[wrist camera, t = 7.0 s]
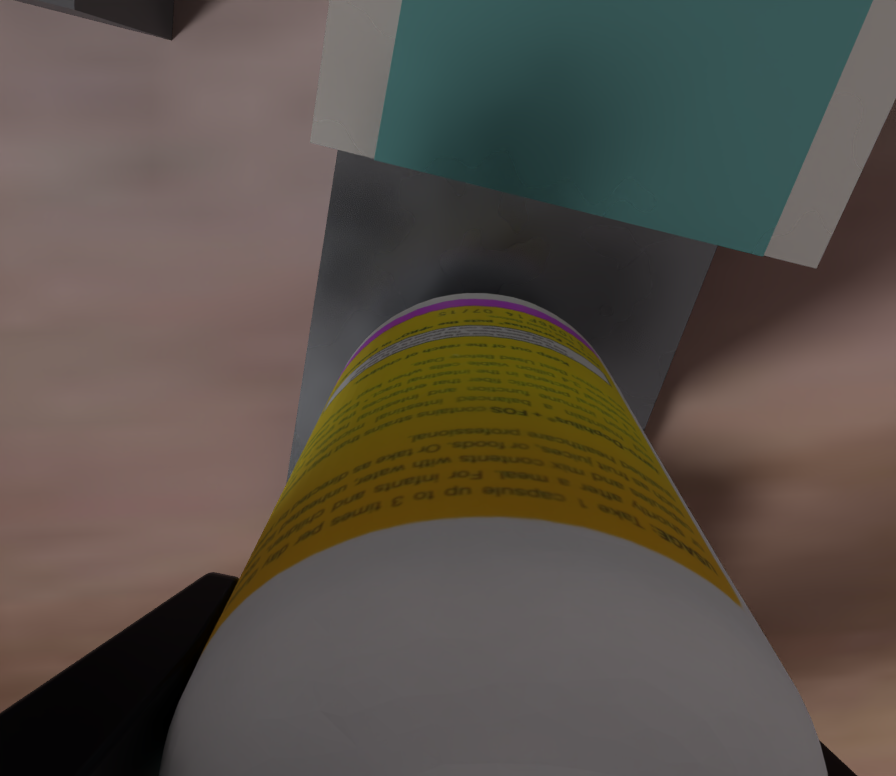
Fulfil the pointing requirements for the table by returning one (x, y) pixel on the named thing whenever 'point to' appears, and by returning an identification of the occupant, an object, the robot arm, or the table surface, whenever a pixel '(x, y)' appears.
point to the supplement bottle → (485, 584)
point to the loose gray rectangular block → (119, 13)
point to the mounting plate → (582, 159)
